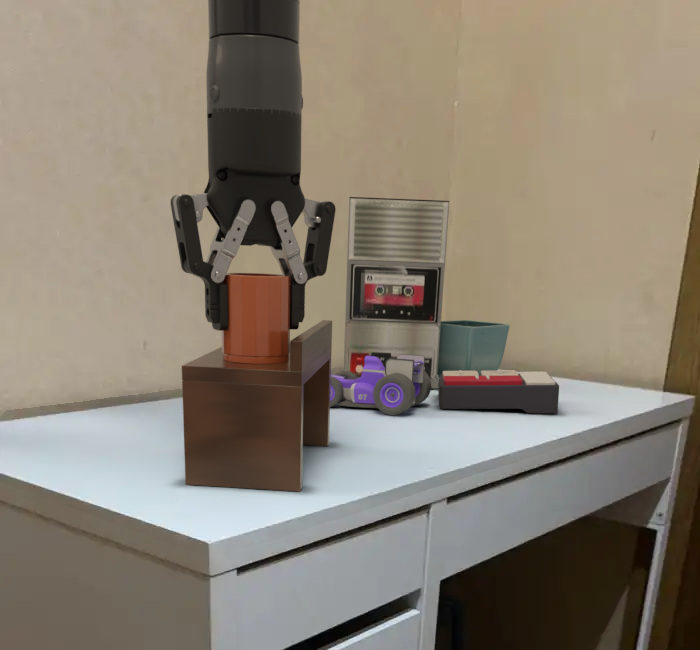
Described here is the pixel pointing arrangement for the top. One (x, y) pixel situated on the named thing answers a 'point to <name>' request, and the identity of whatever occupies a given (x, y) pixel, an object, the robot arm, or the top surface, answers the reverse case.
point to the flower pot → (471, 345)
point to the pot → (257, 318)
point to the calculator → (499, 391)
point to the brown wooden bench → (257, 415)
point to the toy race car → (383, 385)
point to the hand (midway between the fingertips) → (255, 328)
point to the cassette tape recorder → (395, 280)
